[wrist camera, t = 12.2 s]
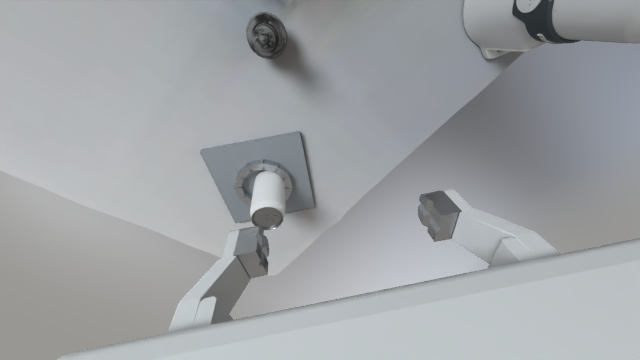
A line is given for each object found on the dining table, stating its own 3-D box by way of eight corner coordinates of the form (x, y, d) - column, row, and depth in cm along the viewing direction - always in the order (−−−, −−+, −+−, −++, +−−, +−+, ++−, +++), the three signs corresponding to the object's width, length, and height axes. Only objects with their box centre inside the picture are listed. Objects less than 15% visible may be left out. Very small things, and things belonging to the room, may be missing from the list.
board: (299, 131, 47) (300, 133, 46) (314, 204, 58) (314, 207, 57) (201, 149, 46) (199, 152, 45) (236, 219, 57) (235, 223, 56)
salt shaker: (269, 64, 39) (265, 78, 29) (241, 33, 36) (226, 37, 26) (293, 37, 37) (298, 43, 28) (266, 3, 34) (261, -5, 25)
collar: (284, 154, 48) (284, 159, 46) (295, 198, 55) (296, 203, 53) (227, 165, 47) (226, 170, 46) (246, 208, 54) (245, 213, 53)
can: (256, 167, 48) (250, 203, 39) (286, 171, 50) (288, 207, 40) (253, 191, 52) (247, 230, 42) (282, 194, 53) (282, 232, 44)
